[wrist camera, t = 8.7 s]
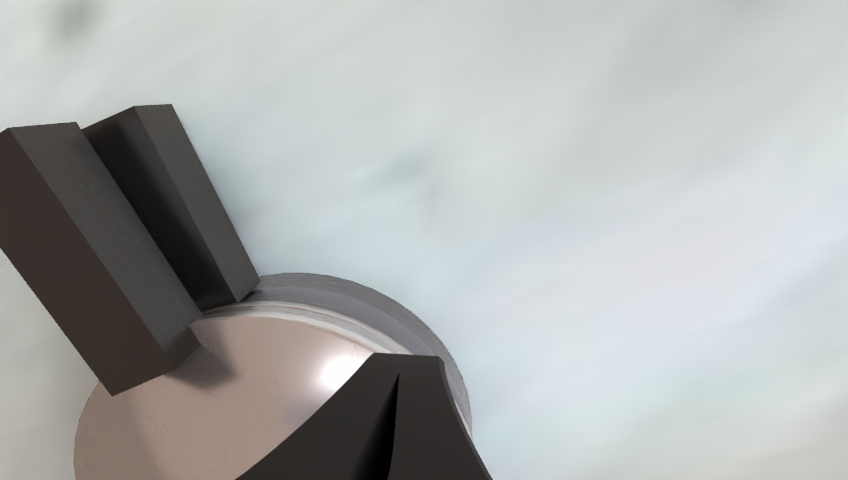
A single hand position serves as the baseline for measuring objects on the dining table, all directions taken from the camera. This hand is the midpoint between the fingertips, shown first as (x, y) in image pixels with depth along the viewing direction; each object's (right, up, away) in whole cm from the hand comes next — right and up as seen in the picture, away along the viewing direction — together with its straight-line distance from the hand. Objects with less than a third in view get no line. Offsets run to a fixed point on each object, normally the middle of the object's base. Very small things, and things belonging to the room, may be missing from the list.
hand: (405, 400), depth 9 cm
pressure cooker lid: (-6, -3, +8) cm, 11 cm away
